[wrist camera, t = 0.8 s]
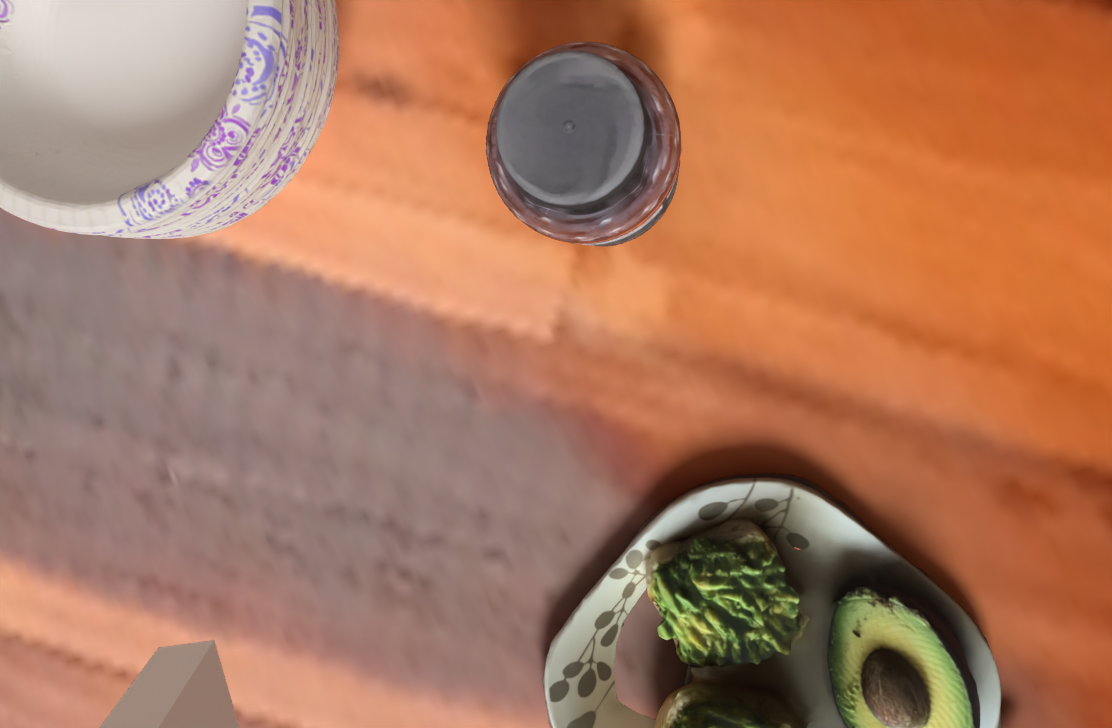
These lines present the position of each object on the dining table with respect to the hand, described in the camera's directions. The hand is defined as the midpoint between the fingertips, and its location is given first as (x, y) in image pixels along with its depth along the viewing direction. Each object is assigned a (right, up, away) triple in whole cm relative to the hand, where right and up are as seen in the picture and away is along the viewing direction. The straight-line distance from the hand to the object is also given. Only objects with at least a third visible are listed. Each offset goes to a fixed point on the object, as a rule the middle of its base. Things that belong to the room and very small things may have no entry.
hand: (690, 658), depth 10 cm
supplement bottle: (0, +12, +20) cm, 23 cm away
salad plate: (+8, -9, +22) cm, 25 cm away
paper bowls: (-17, +17, +22) cm, 33 cm away
